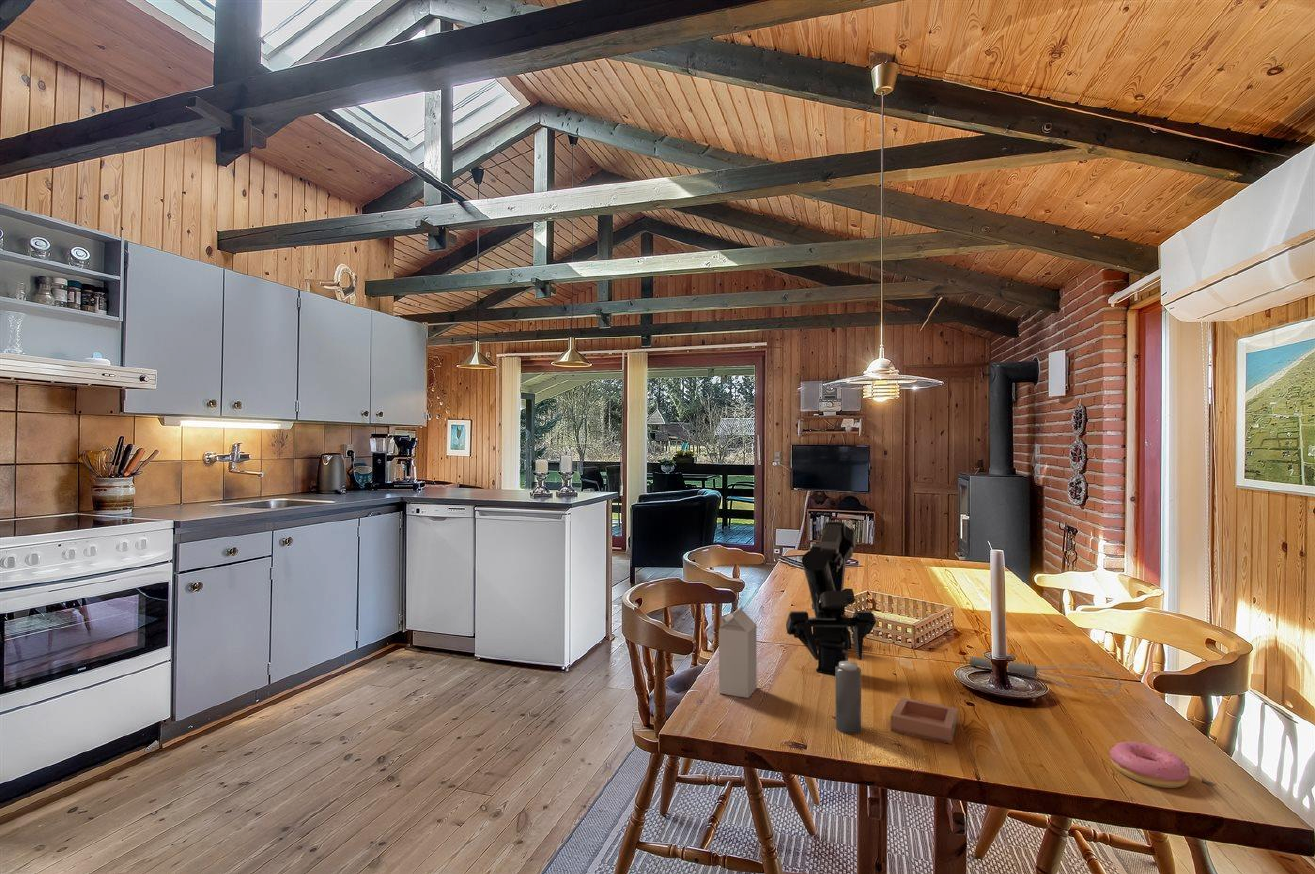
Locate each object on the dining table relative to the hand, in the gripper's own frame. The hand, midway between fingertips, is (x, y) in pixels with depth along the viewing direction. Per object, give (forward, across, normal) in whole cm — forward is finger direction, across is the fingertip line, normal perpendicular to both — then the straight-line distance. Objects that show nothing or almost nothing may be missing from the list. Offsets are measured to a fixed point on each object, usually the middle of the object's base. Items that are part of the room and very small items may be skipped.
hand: (838, 659), depth 129 cm
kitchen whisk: (-5, +56, +23) cm, 60 cm away
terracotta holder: (+12, +16, +5) cm, 21 cm away
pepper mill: (+12, 0, +5) cm, 13 cm away
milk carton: (-1, -19, +19) cm, 27 cm away
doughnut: (+26, +47, -8) cm, 54 cm away
